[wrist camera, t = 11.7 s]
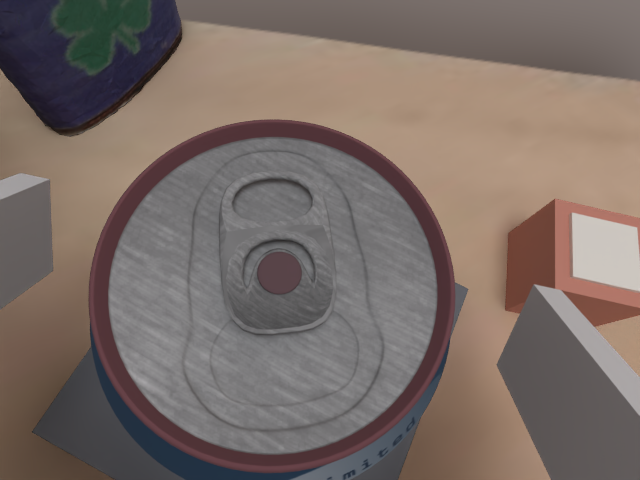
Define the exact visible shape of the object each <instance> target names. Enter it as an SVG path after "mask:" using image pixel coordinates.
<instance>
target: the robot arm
mask: <svg viewBox="0 0 640 480" xmlns="http://www.w3.org/2000/svg"><path fill="white" fill-rule="evenodd" d="M52 271H53V256H52V229H51V202H50V179H46V178H42V177H37V176H32V175H28V174H23V173H19V174H16V175H14V176H11V177H8V178H5V179H2V180H0V309H2V308H3V307H4V306H6V305H7V304H8V303H10V302H11V301H12V300H14V299H15V298H17V297H18V296H19V295H21V294H22V293H23V292H25V291H26V290H28V289H29V288H30V287H32V286H33V285H34V284H36V283H37V282H39V281H40V280H41V279H43V278H44V277H45V276H47V275H48V274H50V273H51V272H52ZM497 367H498V369H499V371H500V373H501V375H502V377H503V379H504V381H505V384H506V386H507V388H508V390H509V392H510V394H511V396H512V398H513V400H514V402H515V405H516V407H517V409H518V411H519V413H520V415H521V417H522V419H523V421H524V423H525V426H526V428H527V430H528V432H529V434H530V436H531V438H532V440H533V442H534V445H535V447H536V449H537V451H538V453H539V455H540V457H541V459H542V461H543V463H544V466H545V468H546V470H547V472H548V474H549V476H550V478H551V480H640V377H639V376H638V375H637V374H636V373H635V372H634V371H633V370H632V368H631V367H630V366H629V365H628V364H627V363H626V362H625V361H624V360H623V358H622V357H621V356H620V355H619V354H618V353H617V352H616V351H615V350H614V348H613V347H612V346H611V345H610V344H609V343H608V342H607V341H606V340H605V338H604V337H603V336H602V335H601V334H600V333H599V332H598V331H597V330H596V328H595V327H594V326H593V325H592V324H591V323H590V322H589V321H588V320H587V318H586V317H585V316H584V315H583V314H582V313H581V312H580V311H579V310H578V308H577V307H576V306H575V305H574V304H573V303H572V302H571V301H570V300H569V298H568V297H567V296H566V295H565V294H564V293H563V292H562V291H561V290H558V289H553V288H549V287H544V286H540V285H535V284H533V287H532V289H531V291H530V293H529V295H528V297H527V300H526V302H525V304H524V306H523V308H522V311H521V313H520V315H519V317H518V319H517V321H516V324H515V326H514V328H513V330H512V332H511V335H510V337H509V339H508V341H507V343H506V345H505V348H504V350H503V352H502V354H501V356H500V359H499V361H498V363H497Z"/></svg>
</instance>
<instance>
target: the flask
mask: <svg viewBox="0 0 640 480" xmlns="http://www.w3.org/2000/svg"><path fill="white" fill-rule="evenodd" d="M181 35H182V27H181V20H180V17H179V14H178V11H177V7H176V2H175V0H0V69H1V70H2V71H3V72H4V74H5V76H6V77H7V78H8V80H9V81H10V82H11V83H12V84H13V85H14V86H15V87H16V88H17V89H18V91H19V92H20V94H21V95H22V96H23V98H24V99H25V101H26V102H27V103H28V104H29V105H30V107H31V108H32V109H33V110H34V111H35V113H36V114H37V116H38V117H39V118H40V119H41V120H42V121H43V123H44V124H46V125H45V126H49V127H51V128H52V129H53V130H54V131H56V132H57V133H59V134H60V135H65V136H72V135H76V134H81V133H83V132H85V131H86V130H88V129H91V128H93V127H94V126H96V125H98V124H99V123H100V122H102V121H103V120H104V119H105V118H106V117H108V116H110V115H112V114H114V113H115V112H116V111H117V109H118V108H120V107H122V106H124V105H125V104H126V103H127V102H129V101H130V100H131V98H132V97H133V96H134V95H135V94H137V93H138V92H139V90H141V88H142V86H143V85H144V83H146V82H148V80H150V79H151V78H152V76H153V75H154V74H155V73H156V72H157V71H158V70H159V69H160V68H161V66H162V65H163V64H164V63H165V62H167V59H169V57H170V56H171V55H172V54H173V53H174V52H175V50H177V49H176V48H177V47H178V44H179V42H180V40H181Z"/></svg>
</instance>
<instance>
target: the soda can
mask: <svg viewBox="0 0 640 480" xmlns="http://www.w3.org/2000/svg"><path fill="white" fill-rule="evenodd" d="M454 312H455V280H454V272H453V266H452V262H451V257H450V253H449V250H448V246H447V243H446V240H445V237H444V235H443V232H442V229H441V227H440V225H439V223H438V220H437V218H436V217H435V215H434V213H433V211H432V209H431V207H430V206H429V204H428V203H427V201H426V200H425V198H424V197H423V195H422V194H421V193H420V191H419V190H418V188H417V187H416V186H415V185H414V184H413V183H412V181H411V180H410V179H409V178H408V177H407V176H406V175H405V174H404V173H403V172H402V171H401V170H400V169H399V168H398V167H397V166H396V165H395V164H393V163H392V162H391V161H390V160H389V159H387V158H386V157H385V156H383V155H382V154H381V153H379V152H378V151H376V150H375V149H373V148H372V147H370V146H368V145H366V144H365V143H363V142H361V141H359V140H357V139H355V138H353V137H351V136H349V135H346V134H344V133H342V132H339V131H336V130H333V129H330V128H327V127H324V126H320V125H316V124H311V123H306V122H300V121H292V120H254V121H246V122H240V123H235V124H230V125H226V126H222V127H219V128H215V129H213V130H210V131H207V132H204V133H202V134H199V135H197V136H195V137H192V138H191V139H189V140H187V141H185V142H183V143H181V144H179V145H177V146H176V147H174V148H172V149H171V150H169V151H168V152H166V153H165V154H164V155H162V156H161V157H159V158H158V159H157V160H156V161H154V162H153V163H152V164H151V165H150V166H148V167H147V168H146V169H145V170H144V171H143V172H142V173H141V174H140V175H139V176H138V177H137V178H136V179H135V180H134V181H133V183H132V184H131V185H130V186H129V187H128V189H127V190H126V191H125V192H124V194H123V195H122V196H121V198H120V199H119V201H118V202H117V204H116V205H115V207H114V209H113V210H112V212H111V214H110V216H109V217H108V219H107V222H106V224H105V226H104V228H103V230H102V233H101V235H100V238H99V241H98V243H97V247H96V250H95V254H94V257H93V262H92V267H91V272H90V281H89V315H90V336H91V347H92V353H93V359H94V363H95V367H96V372H97V375H98V378H99V381H100V384H101V387H102V389H103V391H104V394H105V396H106V398H107V400H108V402H109V404H110V406H111V408H112V410H113V411H114V413H115V415H116V416H117V418H118V419H119V421H120V422H121V424H122V425H123V427H124V428H125V430H126V431H127V432H128V433H129V434H130V436H131V437H132V438H133V439H134V441H135V442H136V443H137V444H138V445H139V446H140V447H141V448H142V449H143V450H144V451H145V452H146V453H148V454H149V455H150V456H151V457H152V458H153V459H155V460H156V461H157V462H158V463H160V464H161V465H163V466H164V467H165V468H167V469H168V470H170V471H171V472H173V473H175V474H176V475H178V476H180V477H182V478H183V479H185V480H350V479H352V478H354V477H356V476H358V475H360V474H361V473H363V472H365V471H366V470H368V469H370V468H371V467H372V466H374V465H375V464H376V463H378V462H379V461H380V460H382V459H383V458H384V457H385V456H387V455H388V454H389V453H390V452H391V451H392V450H393V449H394V448H395V447H396V446H397V445H398V444H399V443H400V442H401V441H402V440H403V439H404V438H405V437H406V436H407V435H408V433H409V432H410V431H411V430H412V428H413V427H414V426H415V425H416V423H417V422H418V420H419V419H420V417H421V416H422V415H423V413H424V411H425V409H426V408H427V406H428V404H429V403H430V401H431V399H432V397H433V395H434V393H435V390H436V388H437V386H438V383H439V381H440V378H441V376H442V373H443V369H444V366H445V363H446V359H447V354H448V350H449V344H450V336H451V330H452V326H453V320H454Z"/></svg>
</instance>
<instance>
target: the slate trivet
mask: <svg viewBox="0 0 640 480" xmlns="http://www.w3.org/2000/svg"><path fill="white" fill-rule="evenodd" d="M467 291H468V289H467V288H465V287H463V286H461V285H459V284H457V283H455V312H454V320H453V326H452V330H451V335H452V332H453V329H454V327H455V324H456V321H457V318H458V316H459V313H460V310H461V308H462V305H463V302H464V300H465V297H466V294H467ZM450 337H451V336H450ZM420 418H421V417H420ZM419 421H420V419H419V420H418V422H417V423H416V425H415V426H414V427H413V428H412V430H411V431H410V432H409V433H408V435H407V436H406V437H405V438H404V439H403V440H402V441H401V442H400V443H399V444H398V445H397V446H396V447H395V448H394V449H393V450H392V451H391V452H390V453H389V454H388V455H387V456H385V457H384V458H383V459H382V460H380V461H379V462H378V463H376V464H375V465H374V466H372V467H371V468H370V469H368V470H366V471H365V472H363V473H361V474H360V475H358V476H356V477H354V478H352V479H350V480H398V478H399V475H400V472H401V470H402V467H403V464H404V461H405V459H406V456H407V453H408V451H409V448H410V445H411V443H412V440H413V437H414V434H415V432H416V429H417V426H418V424H419ZM32 432H33V433H34V434H36V435H38V436H40V437H41V438H43V439H45V440H47V441H48V442H50V443H52V444H54V445H55V446H57V447H59V448H61V449H62V450H64V451H66V452H68V453H69V454H71V455H73V456H75V457H76V458H78V459H80V460H82V461H83V462H85V463H87V464H89V465H90V466H92V467H94V468H96V469H97V470H99V471H101V472H103V473H104V474H106V475H108V476H110V477H112V478H113V479H115V480H185V479H183V478H182V477H180V476H178V475H176V474H175V473H173V472H171V471H170V470H168V469H167V468H165V467H164V466H163V465H161V464H160V463H158V462H157V461H156V460H155V459H153V458H152V457H151V456H150V455H149V454H148V453H146V452H145V451H144V450H143V449H142V448H141V447H140V446H139V445H138V444H137V443H136V442H135V441H134V439H133V438H132V437H131V436H130V434H129V433H128V432H127V431H126V430H125V428H124V427H123V425H122V424H121V422H120V421H119V419H118V418H117V416H116V415H115V413H114V411H113V410H112V408H111V406H110V404H109V402H108V400H107V398H106V396H105V394H104V391H103V389H102V387H101V384H100V381H99V378H98V375H97V372H96V367H95V363H94V359H93V353H92V347H91V348H90V349H89V351H88V352H87V353H86V355H85V356H84V358H83V359H82V361H81V362H80V363H79V365H78V366H77V368H76V369H75V371H74V372H73V374H72V375H71V376H70V378H69V379H68V381H67V382H66V384H65V385H64V387H63V388H62V389H61V391H60V392H59V394H58V395H57V397H56V398H55V399H54V401H53V402H52V404H51V405H50V407H49V408H48V410H47V411H46V412H45V414H44V415H43V417H42V418H41V420H40V421H39V422H38V424H37V425H36V427H35V428H34V430H33V431H32Z"/></svg>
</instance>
